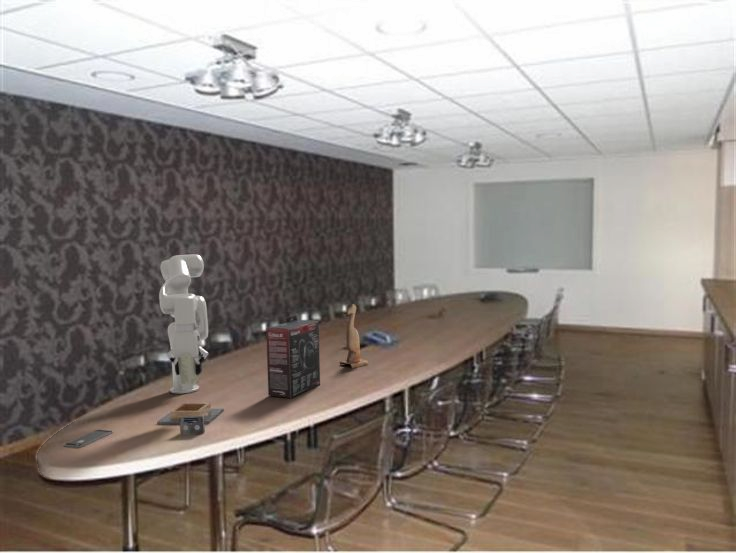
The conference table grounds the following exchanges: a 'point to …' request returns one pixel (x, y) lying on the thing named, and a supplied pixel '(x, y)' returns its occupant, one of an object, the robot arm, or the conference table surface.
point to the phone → (88, 438)
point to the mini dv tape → (192, 425)
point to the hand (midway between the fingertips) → (188, 373)
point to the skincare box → (187, 370)
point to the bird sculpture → (353, 342)
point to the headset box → (293, 357)
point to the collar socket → (191, 413)
